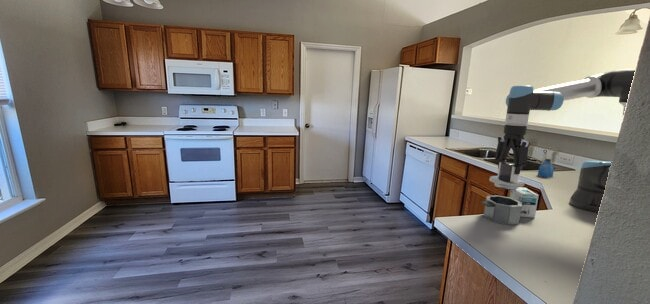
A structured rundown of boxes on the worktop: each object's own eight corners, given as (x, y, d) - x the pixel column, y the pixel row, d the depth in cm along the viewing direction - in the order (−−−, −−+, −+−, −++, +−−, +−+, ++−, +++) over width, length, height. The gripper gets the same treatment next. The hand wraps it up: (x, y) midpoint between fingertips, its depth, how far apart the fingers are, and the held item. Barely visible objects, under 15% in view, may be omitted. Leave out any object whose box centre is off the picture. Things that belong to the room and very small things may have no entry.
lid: (506, 181, 122) (510, 160, 120) (531, 191, 110) (535, 167, 108) (482, 182, 120) (485, 160, 118) (504, 192, 108) (508, 168, 106)
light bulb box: (535, 218, 118) (539, 195, 116) (518, 216, 120) (522, 193, 118) (522, 208, 129) (526, 187, 127) (507, 207, 130) (510, 186, 128)
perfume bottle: (548, 177, 182) (551, 160, 179) (537, 175, 187) (540, 158, 185) (552, 176, 185) (555, 159, 182) (542, 174, 190) (545, 157, 188)
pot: (506, 211, 126) (509, 194, 124) (531, 223, 113) (534, 205, 112) (472, 212, 123) (474, 196, 121) (494, 226, 110) (496, 207, 109)
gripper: (490, 122, 118) (482, 173, 123) (528, 127, 100) (518, 186, 105) (505, 122, 120) (497, 172, 124) (545, 127, 101) (535, 186, 106)
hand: (506, 179), depth 114 cm, fingers closed on lid, 6 cm apart
